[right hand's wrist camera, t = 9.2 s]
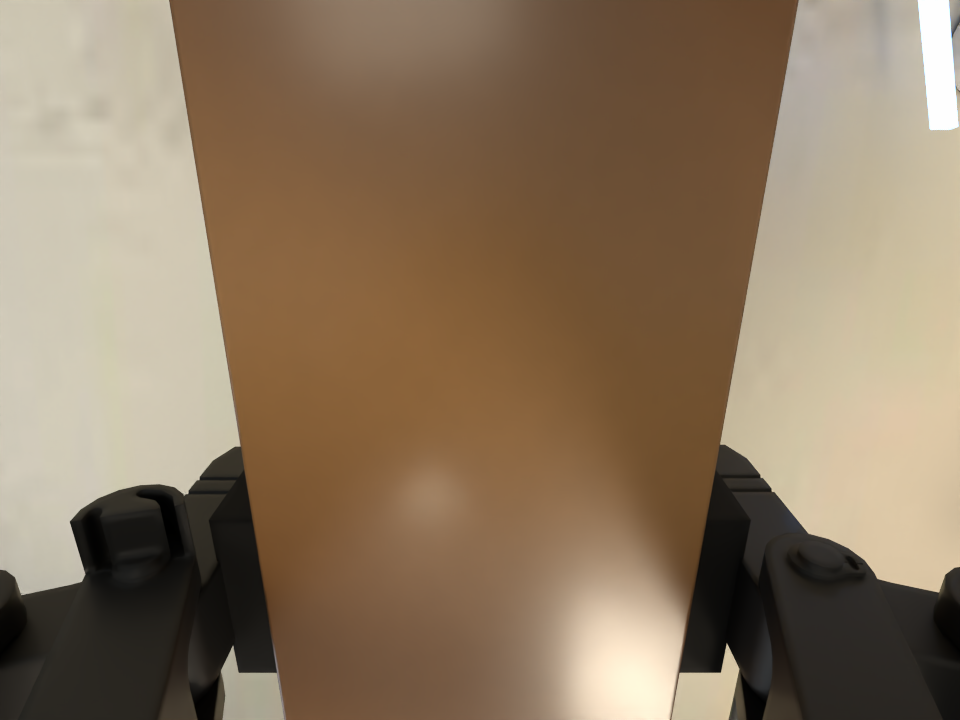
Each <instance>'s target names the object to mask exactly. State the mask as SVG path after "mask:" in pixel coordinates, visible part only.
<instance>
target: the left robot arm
mask: <svg viewBox="0 0 960 720" xmlns="http://www.w3.org/2000/svg"><path fill="white" fill-rule="evenodd" d="M918 3H919V13H920V24H921V35H922V46H923V57H924V67H925V78H926V89H927V100H928V111H929V121H930V129H931V130H950V129H953V128H955V127H958V119H957V106H956V92H955V86H956V87H957V89H958V90H959V91H960V23H959V25H958V27H957V29H956V30H955V32H954V34H953V37H952V39H951V27H950V14H949V1H948V0H918Z"/></svg>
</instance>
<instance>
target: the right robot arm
mask: <svg viewBox="0 0 960 720" xmlns="http://www.w3.org/2000/svg"><path fill="white" fill-rule="evenodd" d="M70 524H71V527H72V531H73V534H74V537H75V541H76V544H77V547H78V551H79V554H80V557H81V561H82V564H83V567H84V571H85V574H86V575H85V577H84V579H83V581H82V582H80V583H76V584H73V585H68V586H64V587H59V588H54V589H49V590H45V591H40V592H35V593H30V594H26V595H21V593H20V590H19V588H18V585H17V582H16V579H15V577H14V576H12V575H11V574H10V573H8V572H7V571H5V570H0V720H222V718H223V710H224V702H225V691H224V684H223V679H222V674H221V669H222V667H223V665H224V663H225V661H226V659H227V656H228V654H229V652H230V650H231V648H232V646H234V651H235V656H236V661H237V666H238V671H239V673H277V670H276V663H275V657H274V651H273V645H272V638H271V632H270V626H269V620H268V613H267V607H266V601H265V595H264V588H263V582H262V576H261V570H260V563H259V557H258V551H257V545H256V538H255V532H254V526H253V520H252V514H251V507H250V501H249V495H248V489H247V482H246V476H245V470H244V464H243V457H242V451H241V447H234V448H232V449H231V450H229V451H228V452H226V453H225V454H223V455H221V456H220V457H218V458H217V459H215V460H213V461H212V463H211V464H210V465H209V466H208V468H207V469H206V470H205V471H204V472H203V474H202V475H201V476H200V480H197V481H196V482H195V484H194V485H193V486H192V487H191V489H190V490H189V493H188V494H186V495H185V496H184V495H183V494H182V493H181V492H180V491H178V490H177V489H176V488H175V487H170V486H165V485H160V484H158V485H140V486H135V487H131V488H127V489H122V490H118V491H116V492H113V493H111V494H108V495H106V496H103V497H101V498H98V499H97V500H95V501H94V502H92V503H90V504H89V505H87V506H86V507H84V508H83V509H81V510H80V511H79V512H78V513H77V514H76V515H75V517H74V518H73V519H72V520H71V521H70ZM726 644H728V646H729V648H730V650H731V652H732V654H733V656H734V658H735V660H736V662H737V664H738V667H739V674H738V679H737V683H736V688H735V693H734V698H733V702H732V707H731V712H730V716H729V720H960V567H957V568H954V569H953V570H951V571H950V572H949V573H947V574H946V575H945V578H944V580H943V583H942V586H941V589H940V592H939V593H938V592H933V591H928V590H923V589H919V588H914V587H909V586H904V585H899V584H895V583H890V582H886V581H882V580H879V579H877V578H876V576H875V574H874V572H873V571H872V570H871V568H870V567H869V566H868V564H867V563H866V562H865V560H863V559H862V558H861V557H859V556H858V555H856V554H855V553H854V552H852V551H851V550H850V549H848V548H846V547H844V546H842V545H840V544H838V543H835V542H833V541H831V540H829V539H826V538H822V537H818V536H814V535H810V534H808V533H807V532H806V530H805V529H804V528H803V527H802V525H801V524H800V523H799V522H798V521H797V519H796V518H795V517H794V516H793V514H792V513H791V512H790V511H789V509H788V508H787V507H786V506H785V505H784V503H783V502H782V501H781V500H780V498H779V497H778V496H777V495H776V494H775V492H772V491H771V487H770V486H769V485H768V484H767V483H766V481H765V480H764V479H763V478H760V474H759V473H758V472H757V470H756V469H755V468H754V467H753V465H752V464H751V463H750V462H749V461H748V459H747V458H745V457H743V456H742V455H740V454H739V453H737V452H735V451H734V450H732V449H731V448H729V447H728V446H726V445H720V447H719V452H718V458H717V463H716V469H715V475H714V480H713V486H712V492H711V497H710V503H709V509H708V514H707V520H706V526H705V531H704V537H703V542H702V548H701V554H700V559H699V565H698V571H697V576H696V582H695V588H694V593H693V599H692V605H691V610H690V616H689V622H688V627H687V633H686V638H685V644H684V650H683V655H682V661H681V667H680V672H679V673H721V669H722V664H723V659H724V654H725V649H726Z"/></svg>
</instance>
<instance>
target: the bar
mask: <svg viewBox="0 0 960 720" xmlns="http://www.w3.org/2000/svg"><path fill="white" fill-rule="evenodd" d="M798 1H799V0H169V2H170V8H171V14H172V20H173V26H174V33H175V39H176V45H177V51H178V58H179V64H180V70H181V76H182V83H183V89H184V95H185V101H186V108H187V114H188V120H189V126H190V133H191V139H192V145H193V151H194V158H195V164H196V170H197V176H198V183H199V189H200V195H201V201H202V208H203V214H204V220H205V226H206V233H207V239H208V245H209V251H210V258H211V264H212V270H213V276H214V282H215V289H216V295H217V301H218V307H219V314H220V320H221V326H222V332H223V339H224V345H225V351H226V357H227V364H228V370H229V376H230V382H231V389H232V395H233V401H234V407H235V414H236V420H237V426H238V432H239V439H240V445H241V451H242V457H243V464H244V470H245V476H246V482H247V489H248V495H249V501H250V507H251V514H252V520H253V526H254V532H255V538H256V545H257V551H258V557H259V563H260V570H261V576H262V582H263V588H264V595H265V601H266V607H267V613H268V620H269V626H270V632H271V638H272V645H273V651H274V657H275V663H276V670H277V676H278V682H279V688H280V695H281V701H282V707H283V713H284V720H671V717H672V712H673V706H674V701H675V695H676V689H677V684H678V678H679V672H680V667H681V661H682V655H683V650H684V644H685V638H686V633H687V627H688V622H689V616H690V610H691V605H692V599H693V593H694V588H695V582H696V576H697V571H698V565H699V559H700V554H701V548H702V542H703V537H704V531H705V526H706V520H707V514H708V509H709V503H710V497H711V492H712V486H713V480H714V475H715V469H716V463H717V458H718V452H719V447H720V441H721V435H722V430H723V424H724V418H725V413H726V407H727V401H728V396H729V390H730V384H731V379H732V373H733V368H734V362H735V356H736V351H737V345H738V339H739V334H740V328H741V322H742V317H743V311H744V305H745V300H746V294H747V289H748V283H749V277H750V272H751V266H752V260H753V255H754V249H755V243H756V238H757V232H758V226H759V221H760V215H761V210H762V204H763V198H764V193H765V187H766V181H767V176H768V170H769V164H770V159H771V153H772V147H773V142H774V136H775V130H776V125H777V119H778V114H779V108H780V102H781V97H782V91H783V85H784V80H785V74H786V68H787V63H788V57H789V51H790V46H791V40H792V35H793V29H794V23H795V18H796V12H797V6H798Z"/></svg>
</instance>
